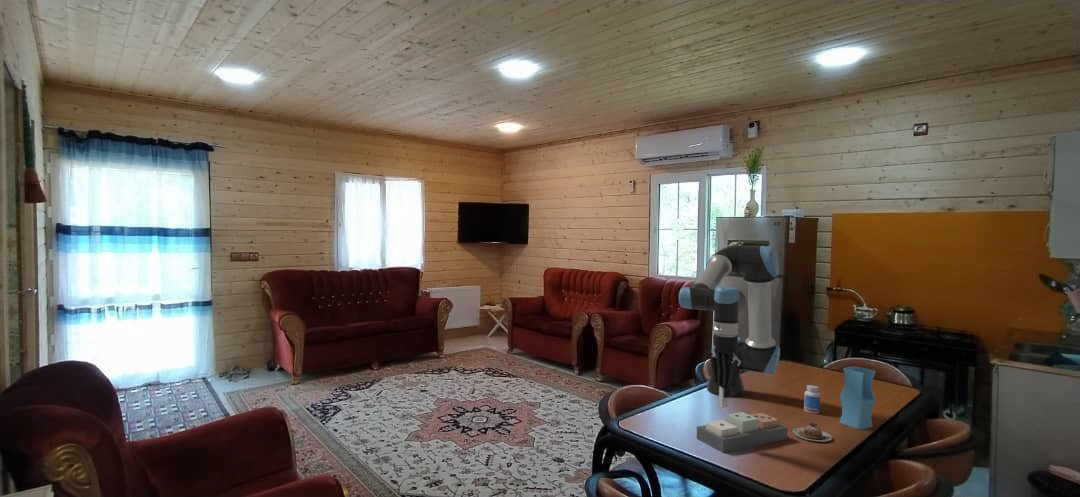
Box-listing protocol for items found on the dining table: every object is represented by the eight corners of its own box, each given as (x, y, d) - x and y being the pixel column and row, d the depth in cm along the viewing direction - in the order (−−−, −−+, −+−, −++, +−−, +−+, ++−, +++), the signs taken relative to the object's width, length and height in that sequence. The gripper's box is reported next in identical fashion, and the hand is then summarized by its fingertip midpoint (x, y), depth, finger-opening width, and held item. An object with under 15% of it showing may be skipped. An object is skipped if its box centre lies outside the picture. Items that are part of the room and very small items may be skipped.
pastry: (831, 447, 171) (831, 433, 171) (790, 439, 177) (790, 425, 177) (833, 435, 181) (833, 422, 181) (794, 428, 187) (795, 415, 187)
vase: (860, 430, 185) (862, 373, 185) (839, 422, 192) (841, 368, 192) (874, 426, 189) (876, 371, 188) (852, 419, 196) (854, 365, 195)
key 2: (726, 426, 178) (726, 414, 177) (742, 423, 180) (742, 411, 180) (742, 433, 171) (742, 421, 171) (758, 430, 174) (758, 418, 174)
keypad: (696, 438, 176) (696, 426, 175) (758, 426, 187) (759, 415, 187) (722, 452, 165) (723, 440, 165) (787, 439, 176) (787, 427, 176)
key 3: (746, 426, 181) (746, 414, 181) (761, 424, 184) (761, 412, 184) (762, 434, 175) (763, 421, 175) (777, 431, 178) (778, 418, 178)
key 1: (705, 434, 174) (705, 422, 174) (721, 431, 177) (722, 419, 177) (720, 442, 167) (721, 429, 167) (737, 439, 170) (737, 426, 170)
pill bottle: (821, 414, 201) (822, 389, 200) (806, 413, 202) (807, 388, 201) (817, 409, 206) (817, 384, 206) (802, 408, 207) (803, 383, 207)
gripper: (702, 331, 176) (700, 401, 176) (731, 339, 164) (729, 414, 165) (720, 330, 179) (718, 399, 180) (749, 337, 167) (747, 411, 168)
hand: (723, 406), depth 172 cm, fingers closed
